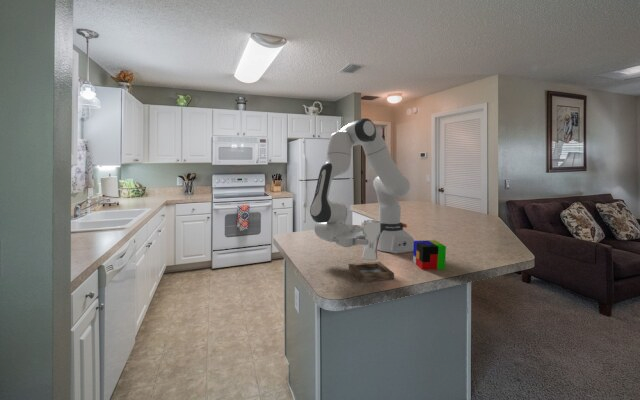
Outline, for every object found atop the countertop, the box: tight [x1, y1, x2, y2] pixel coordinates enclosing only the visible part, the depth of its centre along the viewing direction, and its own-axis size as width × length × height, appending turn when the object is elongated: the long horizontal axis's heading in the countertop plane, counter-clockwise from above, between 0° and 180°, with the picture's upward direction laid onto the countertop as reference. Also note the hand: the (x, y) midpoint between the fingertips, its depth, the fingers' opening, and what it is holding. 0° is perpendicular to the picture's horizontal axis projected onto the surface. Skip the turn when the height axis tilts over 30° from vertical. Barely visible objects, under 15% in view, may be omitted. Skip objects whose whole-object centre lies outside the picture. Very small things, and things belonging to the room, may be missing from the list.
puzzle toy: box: [412, 239, 447, 271], centre depth 133 cm, size 10×10×10 cm
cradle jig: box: [348, 261, 395, 283], centre depth 123 cm, size 14×14×2 cm
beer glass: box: [361, 219, 380, 261], centre depth 122 cm, size 7×7×15 cm
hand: (372, 241), depth 121 cm, fingers closed on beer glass, 6 cm apart
